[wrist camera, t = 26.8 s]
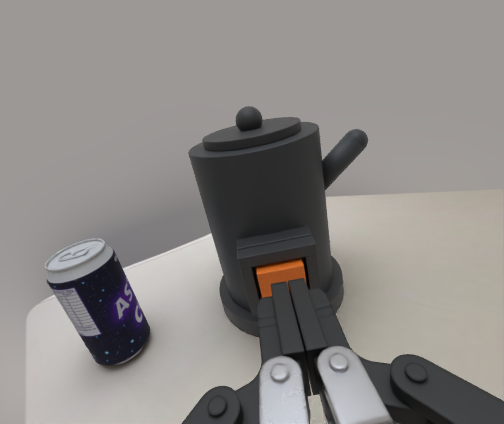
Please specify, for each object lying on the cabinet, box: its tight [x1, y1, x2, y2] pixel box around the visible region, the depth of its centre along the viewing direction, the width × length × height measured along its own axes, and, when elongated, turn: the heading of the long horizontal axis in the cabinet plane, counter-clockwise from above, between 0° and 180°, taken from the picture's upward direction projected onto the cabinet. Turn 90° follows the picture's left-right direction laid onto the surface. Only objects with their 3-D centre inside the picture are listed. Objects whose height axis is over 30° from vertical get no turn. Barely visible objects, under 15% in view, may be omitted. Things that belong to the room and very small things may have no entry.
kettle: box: [189, 106, 368, 337], centre depth 30 cm, size 19×18×21 cm
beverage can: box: [45, 239, 150, 366], centre depth 28 cm, size 6×6×12 cm
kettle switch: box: [256, 258, 307, 298], centre depth 23 cm, size 1×4×3 cm, turn 93°
